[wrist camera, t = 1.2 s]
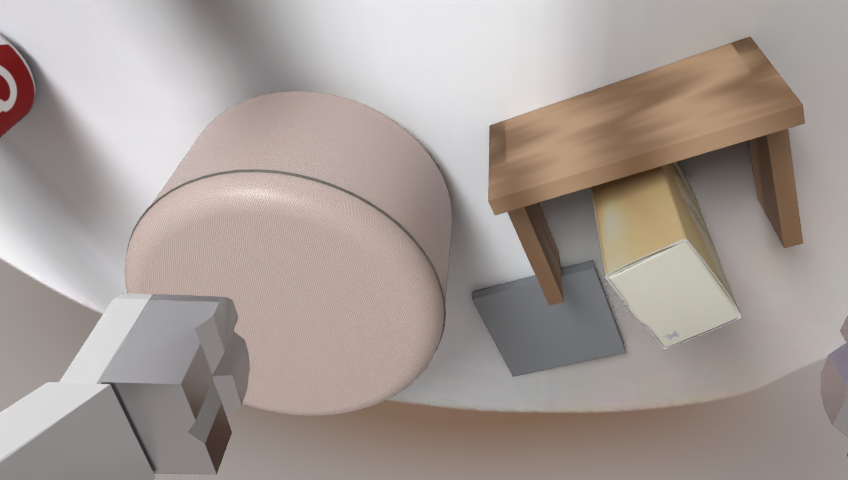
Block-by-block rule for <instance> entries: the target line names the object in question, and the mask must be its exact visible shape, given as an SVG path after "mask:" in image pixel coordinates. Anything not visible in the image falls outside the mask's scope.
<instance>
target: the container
mask: <svg viewBox="0 0 848 480" xmlns="http://www.w3.org/2000/svg"><path fill="white" fill-rule="evenodd" d="M451 232H452V207H451V201H450V197H449V192H448V189H447V186H446V184H445V181H444V178H443V176H442V174H441V173H440V171H439V169H438V167H437V165H436V164H435V162H434V161H433V159H432V158H431V156H430V155H429V153H428V152H427V151H426V150H425V149H424V148H423V146H422V145H421V144H420V143H419V142H418V141H417V140H416V139H415V138H414V137H413V136H412V135H411V134H410V133H409V132H408V131H406V130H405V129H404V128H403V127H401V126H400V125H399V124H397V123H396V122H395V121H393V120H391V119H390V118H388V117H387V116H385V115H383V114H382V113H380V112H378V111H376V110H374V109H372V108H370V107H368V106H366V105H363V104H361V103H358V102H356V101H353V100H350V99H347V98H343V97H340V96H336V95H332V94H326V93H320V92H310V91H283V92H276V93H269V94H265V95H261V96H257V97H253V98H251V99H248V100H245V101H243V102H240V103H238V104H236V105H235V106H233V107H231V108H229V109H227V110H226V111H224V112H223V113H222V114H220V115H219V116H218V117H216V118H215V119H214V120H213V121H212V122H211V123H210V124H209V125H208V126H207V127H206V128H205V129H204V131H203V132H202V133H201V135H200V136H199V137H198V139H197V140H196V141H195V143H194V144H193V146H192V147H191V149H190V150H189V152H188V153H187V154H186V156H185V157H184V159H183V160H182V162H181V163H180V164H179V166H178V167H177V169H176V170H175V172H174V173H173V175H172V176H171V177H170V179H169V180H168V182H167V183H166V185H165V186H164V187H163V189H162V190H161V192H160V193H159V195H158V196H157V198H156V199H155V200H154V202H153V203H152V205H151V206H150V207H149V208H148V209H147V210H146V211H145V212H144V214H143V215H142V216H141V217H140V219H139V221H138V222H137V224H136V226H135V228H134V230H133V232H132V235H131V237H130V240H129V244H128V249H127V254H126V260H125V284H126V289H127V293H132V294H152V295H157V294H173V295H196V296H219V297H227V298H229V299H232V300H233V302H234V305H235V308H236V311H237V314H238V317H239V318H238V320H237V323H236V325H235V328H234V330H233V331H235V332H236V333H237V334H238V335H239V336H241V337H242V338H243V339H244V340H245V341H246V345H247V349H248V352H249V363H250V372H249V379H248V387H247V391H246V394H245V397H244V400H243V403H242V404H245V405H248V406H252V407H255V408H258V409H263V410H267V411H272V412H278V413H284V414H293V415H311V416H312V415H313V416H317V415H333V414H341V413H346V412H351V411H356V410H360V409H363V408H366V407H369V406H373V405H375V404H377V403H380V402H383V401H385V400H387V399H388V398H390V397H392V396H394V395H396V394H397V393H399V392H400V391H402V390H403V389H405V388H406V387H407V386H408V385H409V384H410V383H411V382H413V381H414V380H415V379H416V378H417V377H418V376H419V375H420V374H421V373H422V371H423V370H424V369H425V368H426V366H427V365H428V363H429V362H430V360H431V359H432V357H433V355H434V353H435V351H436V350H437V348H438V345H439V343H440V340H441V338H442V334H443V330H444V326H445V316H446V311H445V300H446V289H447V277H448V266H449V255H450V243H451Z"/></svg>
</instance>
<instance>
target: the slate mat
mask: <svg viewBox="0 0 848 480" xmlns="http://www.w3.org/2000/svg"><path fill="white" fill-rule="evenodd" d="M561 278H562V287H563V296H564V302H562V303H558V304H554V305H550V306H549V305H548V302H547V300H546V298H545V296H544V293H543V291H542V289H541V286H540V284H539V282H538V280H537V277H536V275H535V276H532V277H528V278H524V279H520V280H516V281H512V282H509V283H505V284H501V285H497V286H493V287H490V288H486V289H482V290H478V291H474V292H473V293H472V300H473V302H474V304H475V306H476V307H477V309H478V311H479V313H480V315H481V317H482V319H483V321H484V323H485V324H486V326H487V328H488V330H489V332H490V334H491V336H492V338H493V340H494V342H495V343H496V345H497V347H498V349H499V351H500V353H501V355H502V357H503V359H504V360H505V362H506V364H507V366H508V368H509V370H510V372H511V374H512V376H513V377H514V376H518V375H523V374H528V373H532V372H537V371H542V370H546V369H551V368H556V367H560V366H565V365H570V364H574V363H579V362H583V361H588V360H593V359H597V358H602V357H607V356H611V355H616V354H621V353H625V347H624V343H623V340H622V338H621V335H620V332H619V330H618V327H617V324H616V322H615V319H614V316H613V313H612V311H611V308H610V305H609V303H608V300H607V297H606V295H605V292H604V289H603V286H602V284H601V281H600V278H599V276H598V273H597V270H596V268H595V265H594V262H593V261H589V262H585V263H581V264H577V265H574V266H570V267H566V268H562V269H561Z"/></svg>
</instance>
